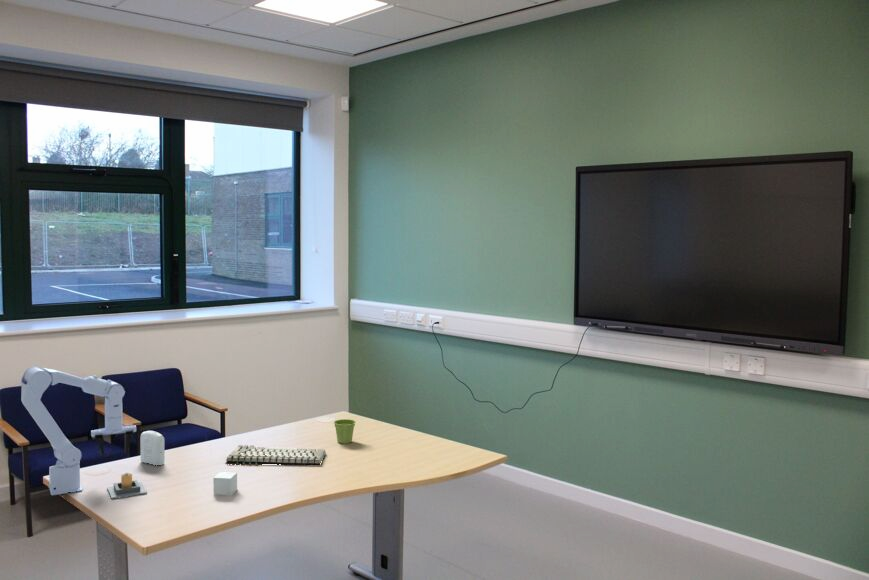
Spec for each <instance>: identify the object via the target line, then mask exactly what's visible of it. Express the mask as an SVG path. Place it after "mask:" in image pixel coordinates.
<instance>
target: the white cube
mask: <svg viewBox="0 0 869 580" xmlns="http://www.w3.org/2000/svg"><path fill="white" fill-rule="evenodd" d="M212 480H213V495H214V494H215V495H214V496H228V495H231V496H232V495H233V494H234V493H235V492H236V491H237V490H238V473H237V472H230V471H219V473H217V474H216V475H215V476H213V479H212Z"/></svg>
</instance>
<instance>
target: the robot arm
mask: <svg viewBox="0 0 869 580" xmlns="http://www.w3.org/2000/svg"><path fill="white" fill-rule="evenodd" d="M20 383H21V394H20V396H21V397H20V398H21V399H20V400H21V402H22V403H21V404H22V405H23V406H24V408H25V409H26V410H27V411H28V413H29V415H30V416H31V418H32V419H33V420H34V422H35V423H36V425H37V426H38V428H39V429H40V430H41V431H42V433H43V434H44V436H45V437H46V438H47V440H48V441H49V443H50V446H51V447H52V449H53V455H54V457H55V458H56V459H57V460H56V463H55V464H54V465H52V466H49V467H48V468H49V469H48V471H49V473H48V475H49V480H48V481H49V483H48V489H49V492H50V495H51V496H57V495H65V494H69V493H68V492H71V493H77V492H82V491H83V487H82V484H81V471H80V469H81V466H80V463H81V462H80V461H81V459H82V451H81V450H80V449H79V448H77V447H75V446H74V445H73V443H72V442H71V441H70V440H69V439H68V438H67V437H66V435H65V434H64V433H63V431H62V430H61V428H60V427H59V425H58V424H57V422H56V421H55V420H54V418H53V416H52V415H51V414H50V413H49V411H48V409H47V407H46V406H45V405H44V404H43V402H42V399H41V398H42V397H43V394H44V393H45V391H46V390H47V389H48V388H49V387H50V385H51V386H55V385H57V384H59V383H61V384H65V385H68V386H74V387H78V388H81V390H82V392H84V393H86V394H90V395H94V396H97V397H98V396H99V397H102V398H104V427H103V428H98V429H94V430H93V429H92V430H90V436H91V438H94V439H95V441H96V442H97V444H98V447H99V450H100V456H101V457H104V456H105V451H104V450H105V449H104V440H105V439H104V436H109V435H115V434H116V435H118V434H124V447H123V448H124V453H125V454H128V452H129V451H128V450H129V448H130V444H131V442H132V439H133V437H134V435H135V434H134V433H136V432H137V426H136V424H135V425H134V424H133V425H123V424H124V423H123V421H124V419H123V398H124V396H125V393H126V391H125V388H124V387H123V386H122V384H120V383H118V382H116V381H113V380H111V379H107V380H106V379H103V378H100V377H99V376H98V375H95V374H94V375H92V376H91V375H88V376H86V377H80V376H77V375H73V374H70V373H67V372H64V371H60V370H57V369H53V368H52V369H51V368H46V367H42V368H41V367H39V366H30V367H28V368H27V369H26V370H25V371H23V375H22V377H21V378H20ZM76 491H77V492H76Z"/></svg>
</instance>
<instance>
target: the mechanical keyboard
mask: <svg viewBox="0 0 869 580" xmlns="http://www.w3.org/2000/svg"><path fill="white" fill-rule="evenodd" d="M326 452H327V451H326V449H323V448H320V449H319V448H318V449H317V450H316V448H308V449H307V448H298V447H271V446H269V447H268V446H267V447H266V448H265V447H264V446H262V447H261V446H260V447H259V446H258V447H257V448H256V446H255V445H246V444H245V445H243V444H238V445H237V446H236V447H235V448H234V449H233V450H232V451H231V453H229V455H228V456H226V462H225V463H224V464H225V465H228V464H229V465H230V464H232V465H231V466H234V465H235V464H236V465H240V464H241V465H246V467H247V466H248V467H260V466H259V465H262V464H277V465H279V464H281V465H285V466H307V465H320V463H321V461H322V459H323V458H324V459H325V455H326V454H327V453H326Z"/></svg>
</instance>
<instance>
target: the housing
mask: <svg viewBox="0 0 869 580" xmlns="http://www.w3.org/2000/svg"><path fill="white" fill-rule="evenodd" d="M107 488H108V489H107ZM107 488H106V489H107V492H108V491H109V492H108V494H109V493H110V494H109V496H111V497H110V499H111V498H112V499H111V500H114V499H113V498H118V499H120V498H119V497H124V498H127V497H126V496H130V497H134V496H133V495H136V496H140V495H139V494H143V495H146V494H145V493H147V494H148V491H147V489H146V488H145V485H144V484H143V482H142V481H140V482H139V481H138V480H137V479H135V480H133V479H132V487H129V488H121V481H120V482H115V483H113V485H112V486H107Z"/></svg>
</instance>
